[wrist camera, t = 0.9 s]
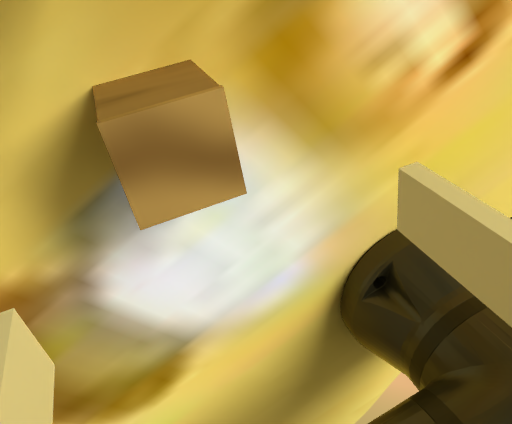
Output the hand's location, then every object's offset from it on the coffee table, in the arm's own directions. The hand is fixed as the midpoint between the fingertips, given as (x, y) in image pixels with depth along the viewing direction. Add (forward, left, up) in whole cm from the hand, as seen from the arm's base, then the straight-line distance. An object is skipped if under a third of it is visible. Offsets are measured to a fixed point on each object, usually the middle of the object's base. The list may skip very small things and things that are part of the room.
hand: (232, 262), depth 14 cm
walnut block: (0, 0, -16) cm, 16 cm away
